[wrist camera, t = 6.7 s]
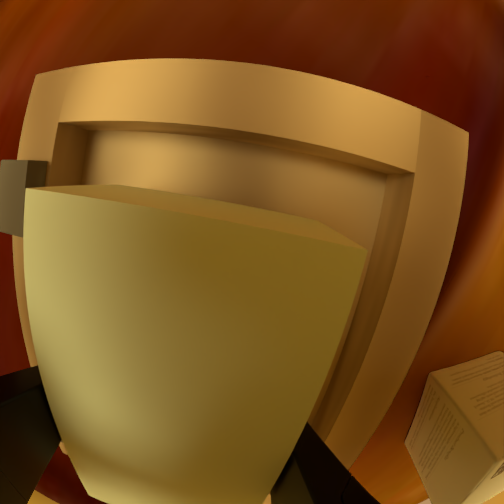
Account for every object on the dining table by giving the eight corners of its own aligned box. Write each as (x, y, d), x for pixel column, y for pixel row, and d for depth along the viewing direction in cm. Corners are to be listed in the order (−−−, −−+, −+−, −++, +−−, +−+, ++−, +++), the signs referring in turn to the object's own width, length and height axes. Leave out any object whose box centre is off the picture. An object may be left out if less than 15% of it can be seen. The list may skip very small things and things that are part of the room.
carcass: (82, 423, 14) (55, 462, 10) (77, 91, 9) (19, 68, 5) (311, 472, 14) (318, 521, 10) (424, 142, 9) (487, 129, 6)
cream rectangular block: (119, 434, 10) (88, 495, 6) (117, 184, 8) (25, 187, 4) (246, 465, 10) (241, 535, 6) (317, 220, 8) (368, 250, 4)
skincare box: (471, 417, 13) (516, 482, 6) (401, 442, 13) (437, 528, 6) (500, 346, 11) (569, 409, 4) (427, 369, 12) (497, 466, 5)
